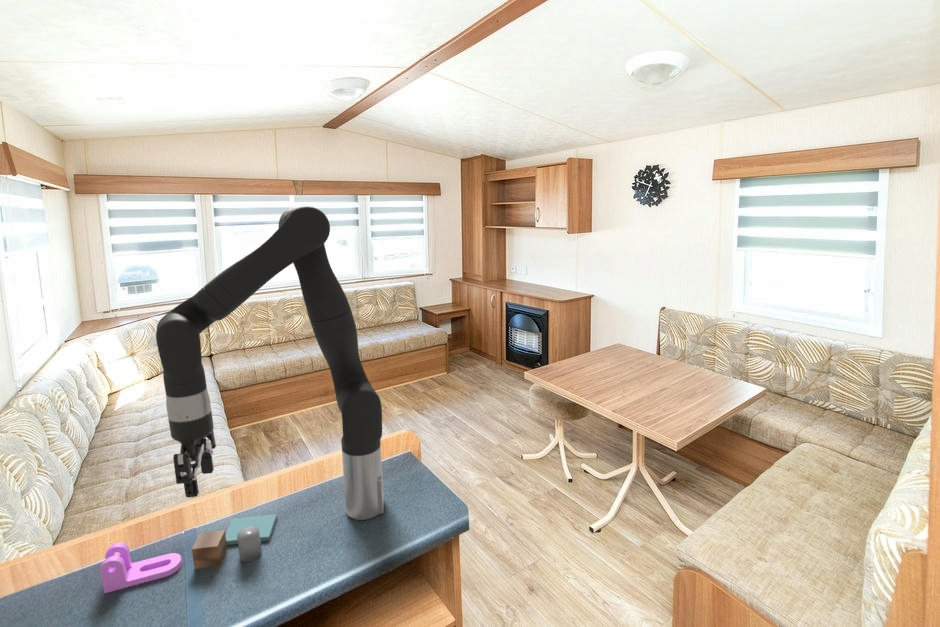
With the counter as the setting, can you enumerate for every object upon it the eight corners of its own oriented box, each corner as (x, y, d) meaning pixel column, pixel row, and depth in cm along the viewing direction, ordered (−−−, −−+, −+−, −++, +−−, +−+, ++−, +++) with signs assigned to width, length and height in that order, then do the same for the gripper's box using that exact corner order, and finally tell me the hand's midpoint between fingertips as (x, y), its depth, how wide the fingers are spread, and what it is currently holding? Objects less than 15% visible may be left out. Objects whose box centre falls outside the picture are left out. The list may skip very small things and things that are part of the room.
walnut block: (227, 549, 107) (224, 530, 106) (220, 566, 102) (217, 546, 101) (203, 552, 106) (200, 532, 105) (194, 569, 101) (191, 549, 100)
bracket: (104, 594, 95) (98, 564, 93) (111, 574, 100) (105, 545, 98) (180, 573, 100) (175, 544, 99) (183, 555, 105) (179, 527, 103)
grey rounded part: (263, 546, 108) (261, 525, 106) (258, 560, 104) (256, 538, 102) (242, 548, 107) (240, 527, 106) (237, 563, 103) (234, 541, 101)
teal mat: (276, 517, 117) (276, 514, 117) (269, 540, 110) (269, 536, 109) (233, 522, 116) (232, 518, 115) (222, 545, 108) (221, 541, 108)
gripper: (196, 426, 90) (207, 503, 94) (221, 396, 103) (230, 464, 107) (152, 429, 89) (165, 507, 92) (184, 398, 102) (194, 467, 106)
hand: (200, 483), depth 100 cm, fingers open, 8 cm apart
